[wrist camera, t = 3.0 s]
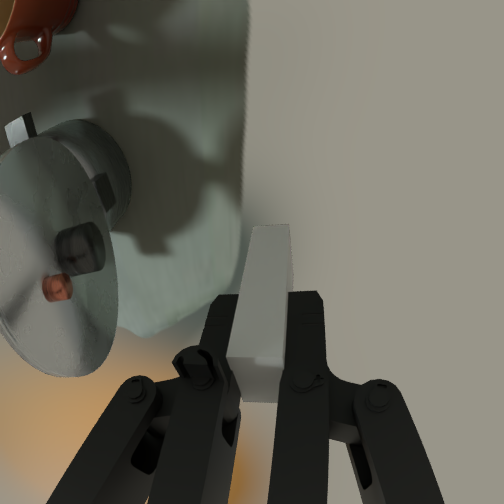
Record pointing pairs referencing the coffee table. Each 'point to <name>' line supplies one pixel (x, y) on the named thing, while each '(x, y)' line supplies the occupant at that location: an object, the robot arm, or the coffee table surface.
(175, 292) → the coffee table surface
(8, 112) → the coffee table surface
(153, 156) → the coffee table surface
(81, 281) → the lid
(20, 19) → the mug
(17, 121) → the pot
